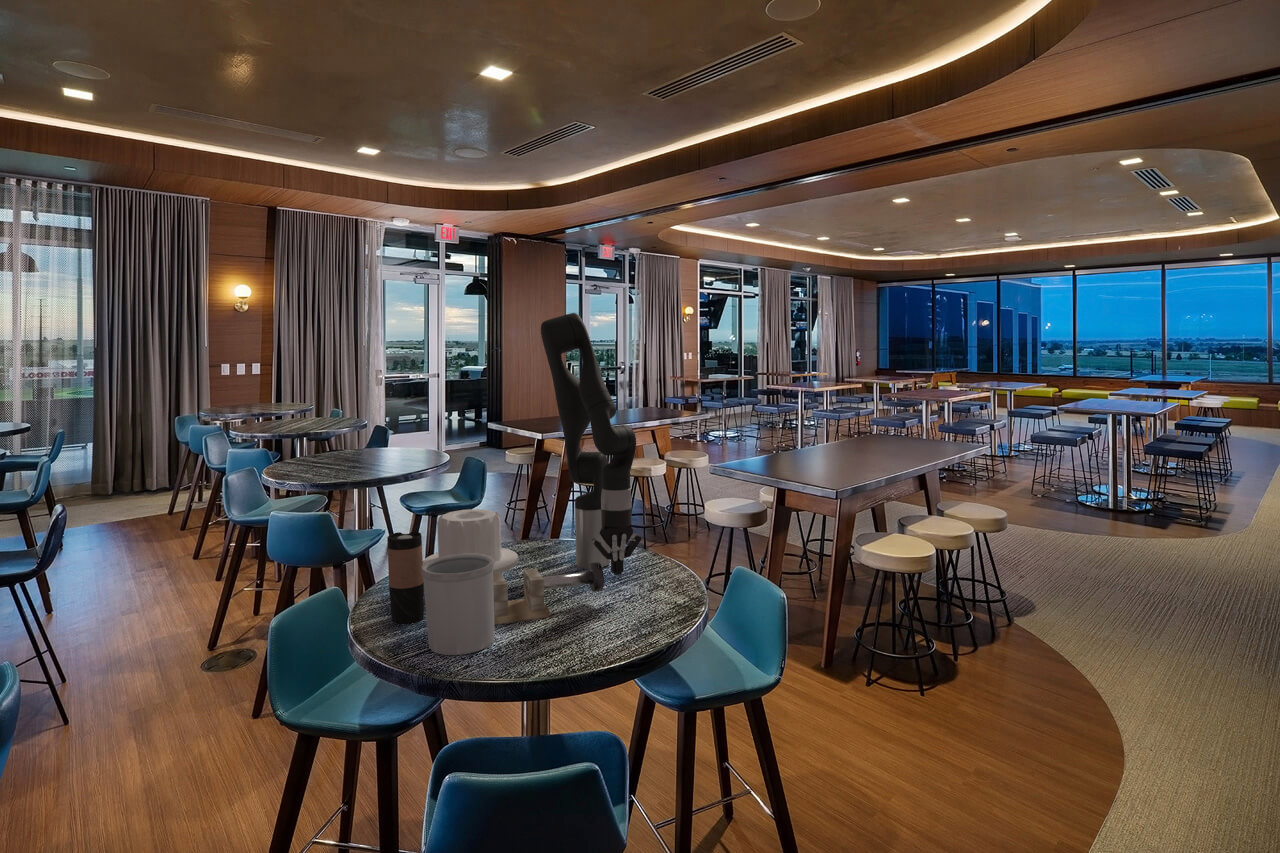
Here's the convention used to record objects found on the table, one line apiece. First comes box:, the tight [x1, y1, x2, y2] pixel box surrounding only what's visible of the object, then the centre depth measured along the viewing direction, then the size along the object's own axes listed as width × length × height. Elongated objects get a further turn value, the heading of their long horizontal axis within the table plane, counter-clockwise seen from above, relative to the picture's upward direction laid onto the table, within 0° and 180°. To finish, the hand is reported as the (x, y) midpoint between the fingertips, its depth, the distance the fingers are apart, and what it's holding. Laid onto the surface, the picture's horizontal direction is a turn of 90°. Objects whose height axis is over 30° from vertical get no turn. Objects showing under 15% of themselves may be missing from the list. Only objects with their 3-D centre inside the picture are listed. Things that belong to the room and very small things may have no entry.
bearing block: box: [493, 568, 550, 626], centre depth 162 cm, size 13×10×9 cm
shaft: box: [526, 562, 605, 593], centre depth 166 cm, size 18×7×7 cm, turn 111°
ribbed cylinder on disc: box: [423, 508, 519, 574], centre depth 183 cm, size 25×25×19 cm
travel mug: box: [387, 530, 425, 625], centre depth 159 cm, size 8×8×20 cm
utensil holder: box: [422, 553, 495, 656], centre depth 146 cm, size 15×15×18 cm
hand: (617, 574), depth 171 cm, fingers closed
